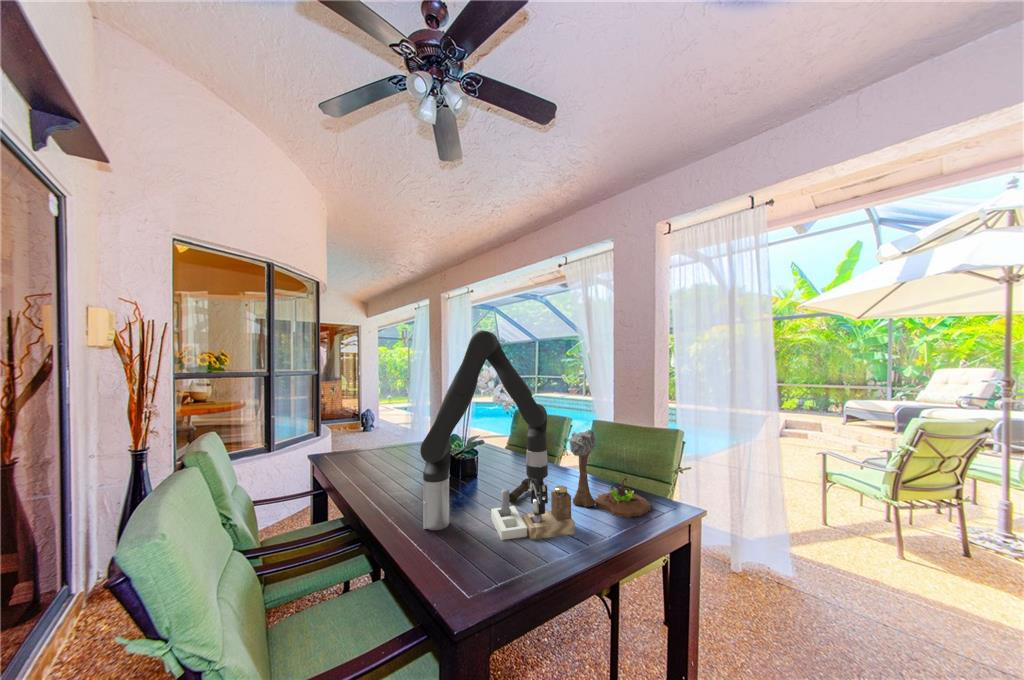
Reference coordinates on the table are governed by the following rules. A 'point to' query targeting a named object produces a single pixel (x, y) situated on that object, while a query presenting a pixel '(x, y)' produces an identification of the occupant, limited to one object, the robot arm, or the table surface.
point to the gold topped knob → (561, 490)
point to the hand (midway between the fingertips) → (537, 508)
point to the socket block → (552, 519)
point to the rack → (508, 519)
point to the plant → (622, 502)
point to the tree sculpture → (583, 465)
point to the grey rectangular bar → (536, 512)
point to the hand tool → (518, 491)
